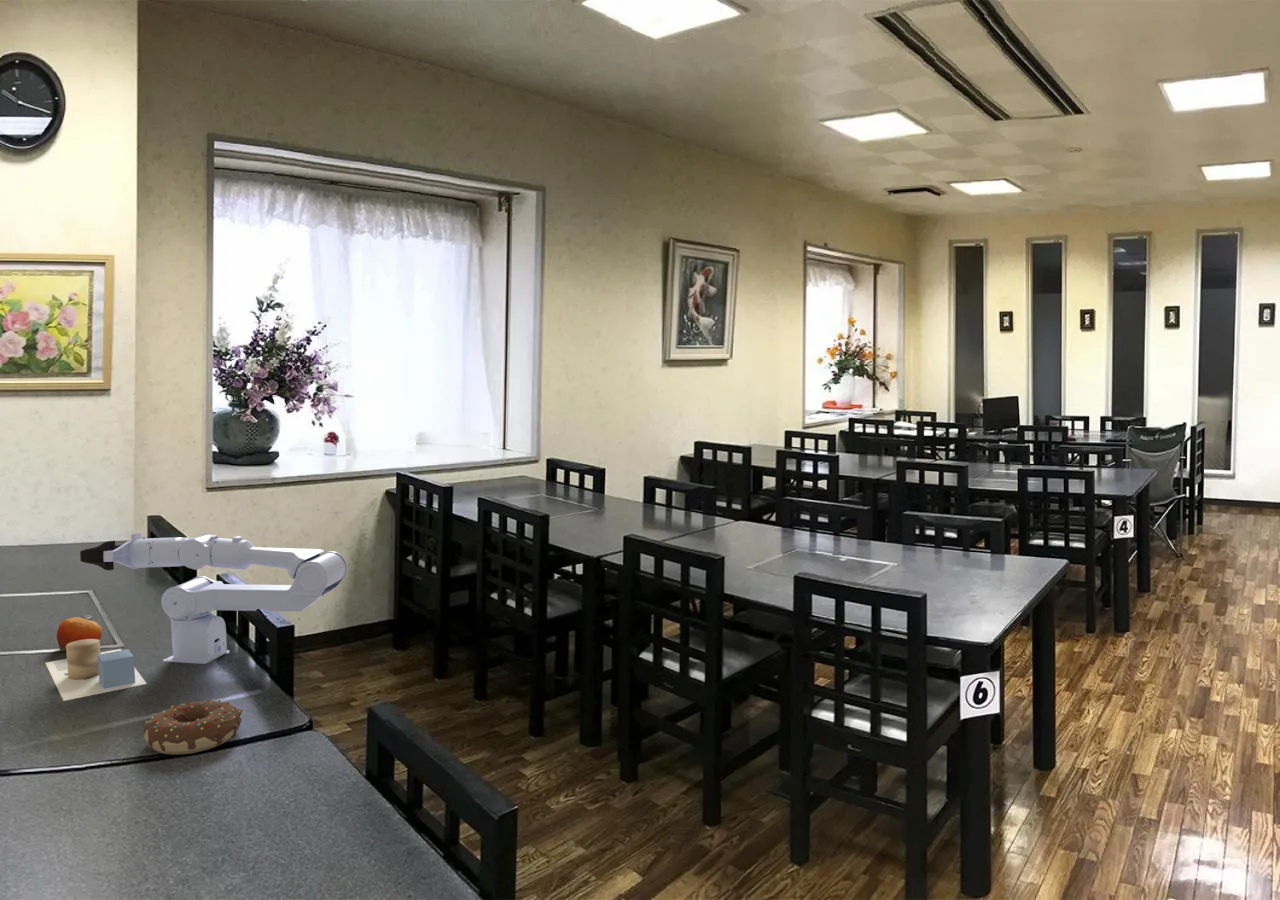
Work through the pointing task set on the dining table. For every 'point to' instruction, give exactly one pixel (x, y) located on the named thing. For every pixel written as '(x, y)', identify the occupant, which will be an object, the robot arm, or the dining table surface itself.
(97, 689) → the letter mat
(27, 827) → the dining table surface
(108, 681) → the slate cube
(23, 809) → the dining table surface
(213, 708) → the donut
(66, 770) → the dining table surface
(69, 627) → the fruit
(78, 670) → the wooden cylinder
